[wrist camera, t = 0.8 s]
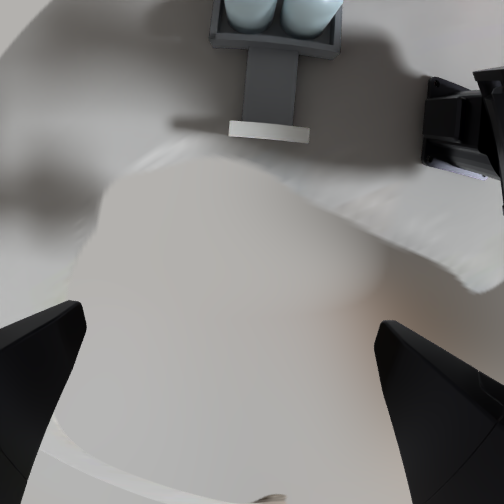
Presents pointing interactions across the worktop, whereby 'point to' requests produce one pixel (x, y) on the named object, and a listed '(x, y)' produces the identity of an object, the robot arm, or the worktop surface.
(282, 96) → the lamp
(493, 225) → the worktop surface
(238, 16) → the pale blue cylinder
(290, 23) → the pale blue cylinder
